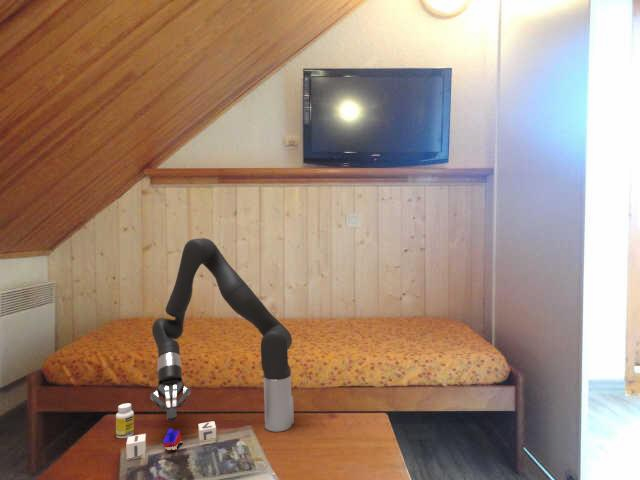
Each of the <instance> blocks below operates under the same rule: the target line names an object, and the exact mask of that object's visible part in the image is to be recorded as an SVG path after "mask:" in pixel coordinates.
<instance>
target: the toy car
mask: <svg viewBox="0 0 640 480" xmlns="http://www.w3.org/2000/svg"><path fill="white" fill-rule="evenodd" d="M182 440H183V438H182V435H181V432H180V430H174V429H173V428H169V429H168V430H167V433H166V434H165V437H164V439H163V441H162V444H163V448H165V447H172V446H173V447H174V446H176V445H177V444H178V443H179V442H180V441H182Z"/></svg>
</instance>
